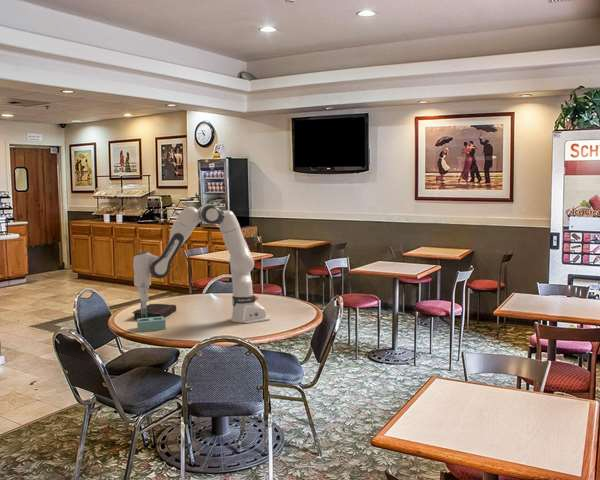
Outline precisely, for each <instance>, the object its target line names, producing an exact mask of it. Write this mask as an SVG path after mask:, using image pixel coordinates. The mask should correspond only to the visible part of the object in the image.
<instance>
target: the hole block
mask: <svg viewBox="0 0 600 480" xmlns="http://www.w3.org/2000/svg"><path fill="white" fill-rule="evenodd" d="M136 323H137V330H138V332H139V333H141V332H142V331H144V332H151V331H161V329H163V330H167V329H166V328H167V327H166V324H167V323H166V319H165V318H164V317H163V316H161V317H150V318H140V319H137V320H136ZM142 333H143V332H142Z"/></svg>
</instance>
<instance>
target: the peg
mask: <svg viewBox="0 0 600 480" xmlns="http://www.w3.org/2000/svg"><path fill="white" fill-rule="evenodd" d="M139 300H140V309H141V318H147V305H146V308H142V302H141V299H140V298H139Z"/></svg>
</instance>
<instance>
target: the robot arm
mask: <svg viewBox="0 0 600 480" xmlns="http://www.w3.org/2000/svg"><path fill="white" fill-rule="evenodd" d="M200 223H203V224H206V225H217V226H218V228H219V231H220V234H221V236H222V239H223V243H224V245H225V247H226V249H227V251H228V253H229V256H230V257H229V267H230V274H231V282H232V298H231V301H232V302H231V304H232V312H231V317H230V321H232V322H233V323H241V324H242V323H244V324H251V323H259V322H263V321H270V320H271V316H270V315H269V314H267V310H266V308H265V306H263V305H262V304H261V303H259V302H258V300H259V297H258V296H257V295H254V294H253V280H252V276H251V272H252V270H253V269H254V267H255V259H254V258H253V256H252V253H251V251H250V248H249V247H248V244H247V242H246V240H245V238H244V234H243V232H242V229H241V225H240V223H239V221H238V219H237V216H236V215H235V213H234V212H233V211H232V210H229V209H228V210H222V209H221V208H220V207H219V206H217V205H216V204H213V203H206V204H202V205H200V206H198V207H197V208H196V207H194V206H190V205H189V206H186V207H185V208H184V209H183V210H182V211H181V212H180V214H179V215H178V216H177V217H176V219H175V221H174V222H173V223H172V226H171V229H170V232H169V239H168V242H167V245H166V247H165V248H164V250H163V252H162V253H161V255H160V256H158V255H154V254H153V253H150V252H149V251H141V252H138V253H135V255H134V256H133V265H132V266H133V272H134V275H133V280H134V281H133V284H134V286H135V287H136V289H137V294H138V298H139V300H140V299H141V300H140V303H141V302H142V308H146V306H147V303H148V302H149V288H150V286H151V285H152V277H154V278H155V279H159V280H161V279H164V278H166V277H167V276H168V275H169V274H170V270H171V265H172V262H173V260H174V258H175V256H176V255H177V253H178V251H179V250H180V248H181V247H182V245H183V244H184V243H185V242H186V241H187V240H188V238H189V237H190V236H191V235H192V233H193V231H194V230H195V228H196V226H198V225H199V224H200Z"/></svg>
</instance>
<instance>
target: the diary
mask: <svg viewBox="0 0 600 480" xmlns="http://www.w3.org/2000/svg"><path fill="white" fill-rule="evenodd" d="M146 306H147V318H150V317H161V316H163V317H164V319H165V318H168V317H169V316H170V315H172V314H173V313H176V312H177V305H176V304H167V303H150V304H148V305H147V304H146ZM131 313H132V314H133V319H134V320H133V321H137V319H140V318H141V308H138V309H136V310H134V311H133V312H131Z"/></svg>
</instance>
